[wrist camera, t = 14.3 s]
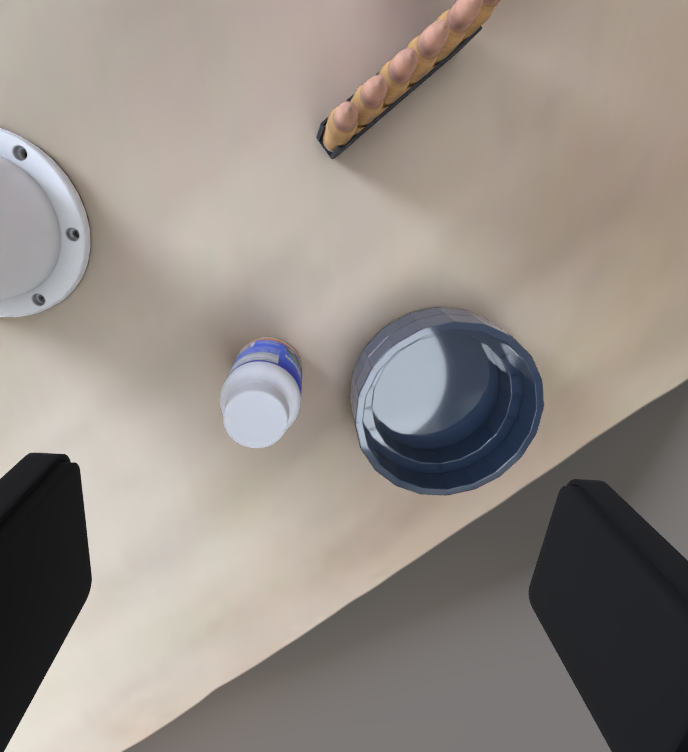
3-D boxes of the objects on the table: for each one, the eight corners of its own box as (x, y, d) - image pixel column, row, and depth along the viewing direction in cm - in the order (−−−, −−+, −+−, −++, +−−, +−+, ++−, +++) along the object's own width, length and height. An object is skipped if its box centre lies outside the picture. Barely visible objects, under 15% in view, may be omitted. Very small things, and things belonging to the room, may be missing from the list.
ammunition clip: (332, 160, 33) (345, 141, 21) (315, 136, 32) (320, 104, 21) (458, 51, 31) (545, -32, 20) (443, 24, 30) (524, -77, 19)
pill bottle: (306, 394, 39) (306, 454, 30) (240, 402, 39) (221, 464, 29) (297, 331, 37) (294, 375, 28) (228, 339, 37) (203, 385, 28)
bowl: (341, 458, 41) (346, 491, 37) (360, 299, 36) (368, 314, 32) (495, 465, 43) (518, 498, 38) (533, 314, 38) (565, 330, 33)
